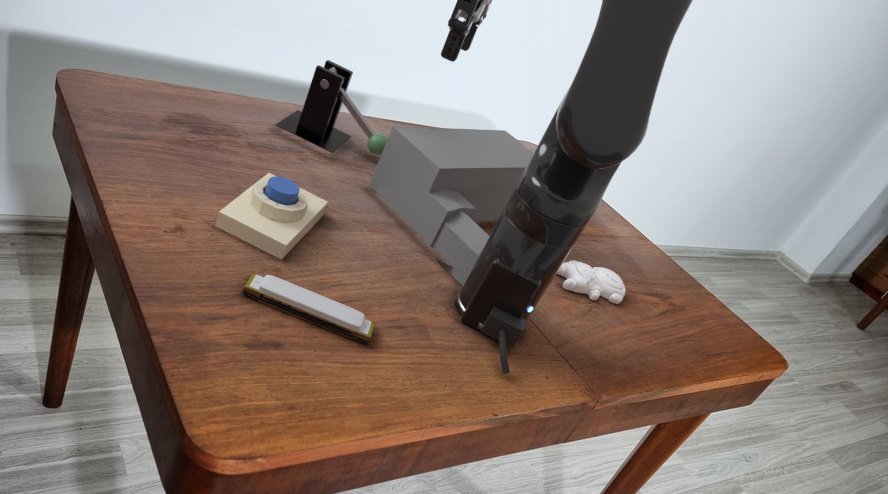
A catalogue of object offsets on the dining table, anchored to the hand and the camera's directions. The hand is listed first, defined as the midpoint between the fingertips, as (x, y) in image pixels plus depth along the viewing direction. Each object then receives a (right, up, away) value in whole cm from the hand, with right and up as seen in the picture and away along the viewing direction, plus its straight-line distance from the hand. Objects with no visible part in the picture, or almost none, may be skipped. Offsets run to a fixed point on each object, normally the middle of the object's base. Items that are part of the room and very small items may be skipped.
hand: (454, 53), depth 100 cm
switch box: (-24, -24, -10) cm, 36 cm away
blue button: (-23, -22, -12) cm, 33 cm away
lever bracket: (-22, -9, +14) cm, 27 cm away
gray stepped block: (+3, -25, +8) cm, 26 cm away
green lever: (-16, -7, +11) cm, 20 cm away
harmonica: (-18, -36, -22) cm, 46 cm away
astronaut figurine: (+21, -33, +8) cm, 40 cm away
